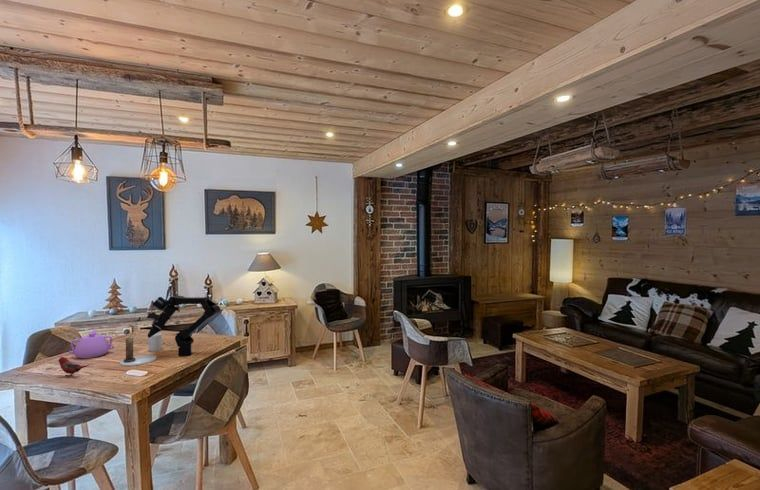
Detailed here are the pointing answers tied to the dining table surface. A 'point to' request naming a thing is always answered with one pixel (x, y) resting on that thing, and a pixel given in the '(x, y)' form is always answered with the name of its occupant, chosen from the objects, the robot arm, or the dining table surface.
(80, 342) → the teapot
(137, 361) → the white smooth round part
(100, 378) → the dining table surface
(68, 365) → the decorative bird figurine
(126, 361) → the brown tapered knob
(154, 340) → the white cup
